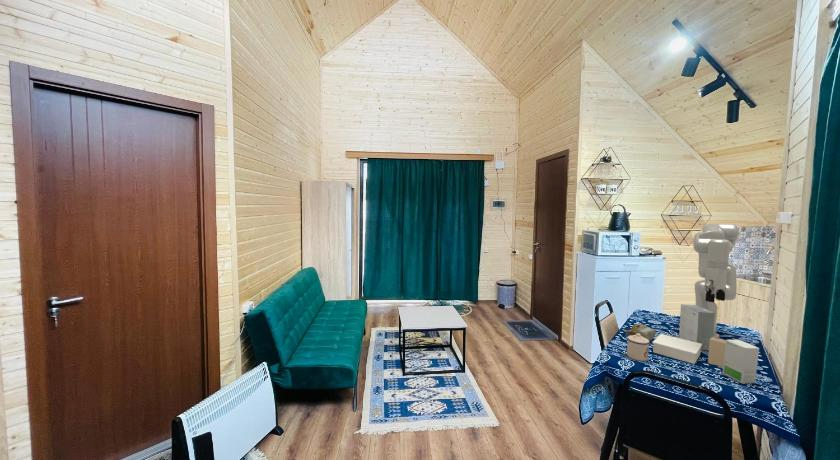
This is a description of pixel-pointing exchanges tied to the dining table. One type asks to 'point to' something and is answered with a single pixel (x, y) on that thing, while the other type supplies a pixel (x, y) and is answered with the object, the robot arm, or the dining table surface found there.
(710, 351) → the kraft carton
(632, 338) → the teacup with lid
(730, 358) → the skincare box
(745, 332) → the dining table surface
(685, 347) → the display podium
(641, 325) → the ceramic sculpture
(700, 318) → the hard drive box
